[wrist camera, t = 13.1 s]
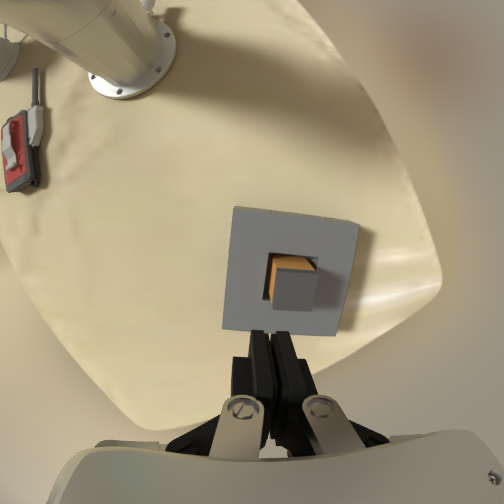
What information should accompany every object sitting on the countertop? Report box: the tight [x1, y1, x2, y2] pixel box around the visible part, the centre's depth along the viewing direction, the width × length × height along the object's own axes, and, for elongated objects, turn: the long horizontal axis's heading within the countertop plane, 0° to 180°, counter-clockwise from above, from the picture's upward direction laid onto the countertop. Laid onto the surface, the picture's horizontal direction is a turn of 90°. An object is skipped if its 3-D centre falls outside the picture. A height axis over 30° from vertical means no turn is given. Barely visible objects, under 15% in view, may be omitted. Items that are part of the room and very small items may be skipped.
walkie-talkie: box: [1, 68, 44, 193], centre depth 27 cm, size 9×4×20 cm
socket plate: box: [222, 206, 359, 336], centre depth 32 cm, size 14×14×4 cm
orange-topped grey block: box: [267, 254, 318, 312], centre depth 30 cm, size 4×4×7 cm
